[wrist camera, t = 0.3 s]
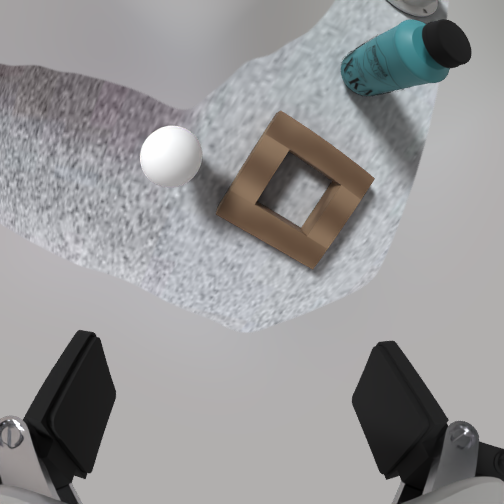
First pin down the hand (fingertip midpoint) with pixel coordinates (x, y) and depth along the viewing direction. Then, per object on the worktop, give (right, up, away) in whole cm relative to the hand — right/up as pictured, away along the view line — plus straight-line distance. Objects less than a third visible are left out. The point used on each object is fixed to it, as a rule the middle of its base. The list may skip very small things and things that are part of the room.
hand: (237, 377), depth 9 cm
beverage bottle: (+14, +27, +22) cm, 38 cm away
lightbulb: (-8, +16, +25) cm, 31 cm away
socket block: (+6, +12, +27) cm, 30 cm away
